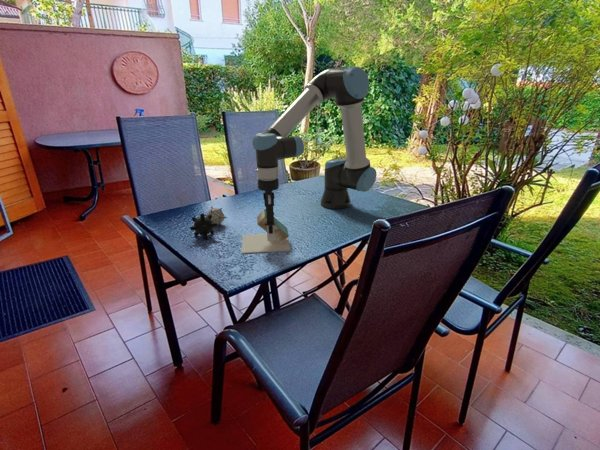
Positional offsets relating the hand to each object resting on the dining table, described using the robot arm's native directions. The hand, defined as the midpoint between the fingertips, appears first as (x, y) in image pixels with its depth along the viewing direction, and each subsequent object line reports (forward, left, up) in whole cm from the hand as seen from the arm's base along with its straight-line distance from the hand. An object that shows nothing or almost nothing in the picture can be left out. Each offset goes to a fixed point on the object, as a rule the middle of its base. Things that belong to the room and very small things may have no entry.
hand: (270, 235), depth 131 cm
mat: (+2, 0, -3) cm, 4 cm away
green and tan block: (-5, 0, 0) cm, 5 cm away
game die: (+23, -22, -3) cm, 32 cm away
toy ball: (+27, -10, -3) cm, 29 cm away
